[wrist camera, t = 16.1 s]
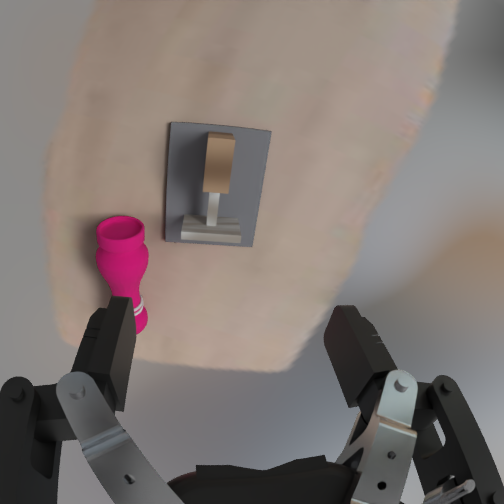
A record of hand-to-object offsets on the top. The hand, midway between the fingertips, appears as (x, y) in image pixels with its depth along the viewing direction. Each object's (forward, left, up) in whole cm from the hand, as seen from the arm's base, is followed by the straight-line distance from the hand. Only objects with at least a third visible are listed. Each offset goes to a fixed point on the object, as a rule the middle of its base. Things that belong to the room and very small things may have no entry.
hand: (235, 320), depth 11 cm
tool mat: (+4, 0, -28) cm, 28 cm away
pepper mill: (+8, -11, -24) cm, 28 cm away
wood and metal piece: (+3, 0, -27) cm, 28 cm away
